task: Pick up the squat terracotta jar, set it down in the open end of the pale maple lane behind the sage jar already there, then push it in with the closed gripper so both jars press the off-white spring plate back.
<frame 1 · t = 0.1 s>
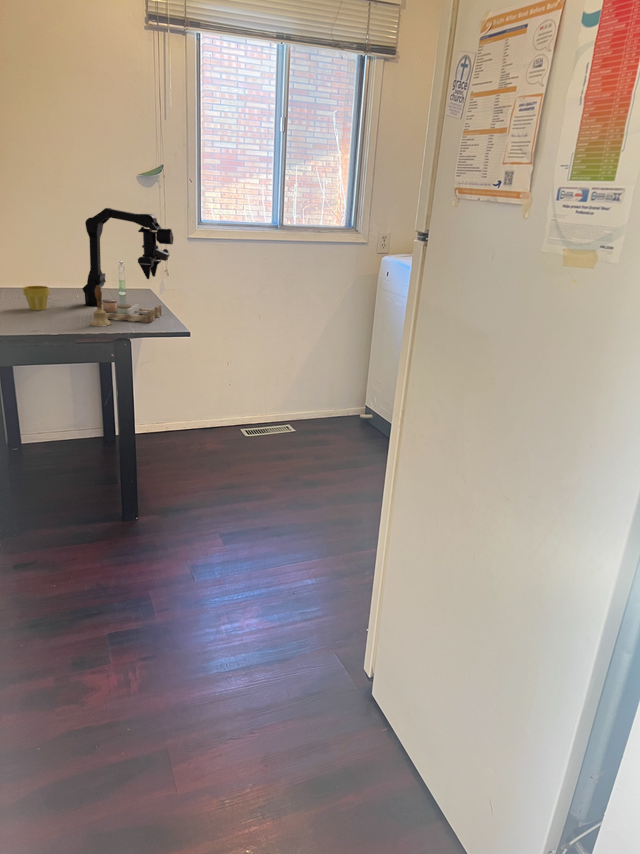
hand: (151, 277, 287), 15 cm above the table, tool pointing down, fingers open, 9 cm apart
jar: (110, 311, 282), on the table
lane: (132, 317, 273), on the table
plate: (140, 312, 272), point 3 cm above the table, slide at 0.0 cm
hand bell: (100, 324, 256), on the table
plant pot: (38, 309, 276), on the table
stock jar: (124, 316, 273), on the table
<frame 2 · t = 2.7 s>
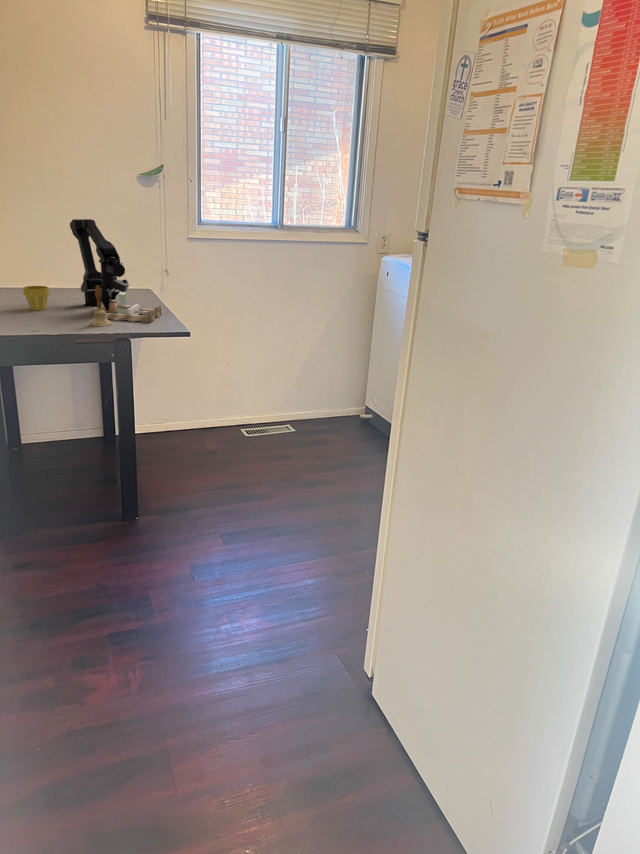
hand: (110, 308, 282), 1 cm above the table, tool pointing down, fingers closed on jar, 6 cm apart
jar: (110, 311, 282), on the table, touching gripper
everything else where it was.
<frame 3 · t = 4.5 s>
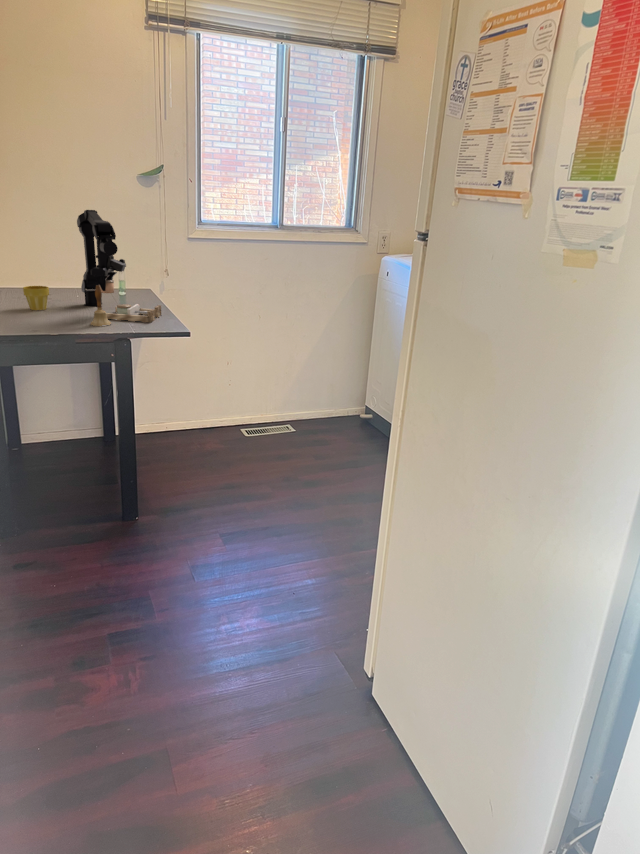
hand: (106, 289, 269), 11 cm above the table, tool pointing down, fingers closed on jar, 6 cm apart
jar: (106, 292, 269), point 10 cm above the table, touching gripper
everything else where it was.
when the fingers open (2 cm above the table, at t = 6.7 s): jar drops 1 cm, on the table.
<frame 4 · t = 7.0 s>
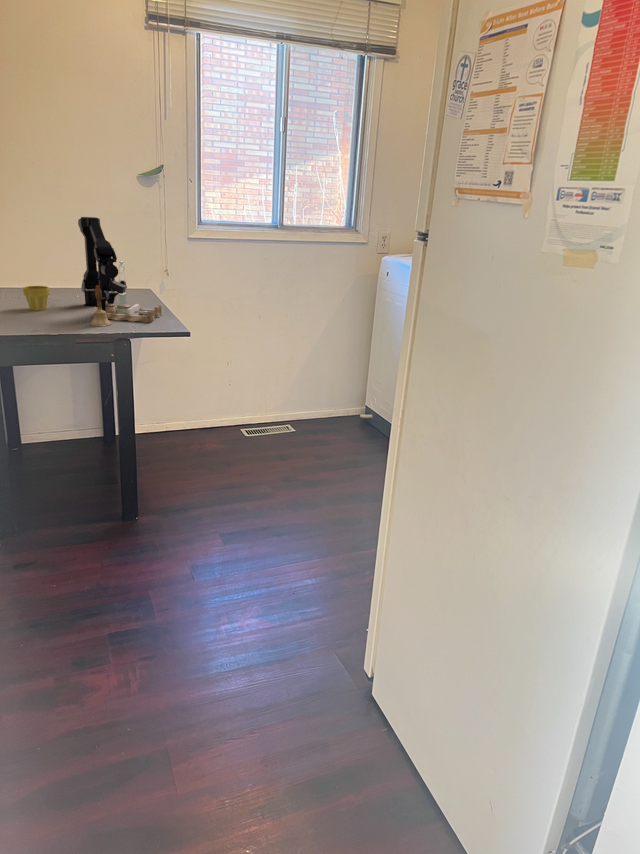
hand: (107, 310, 272), 2 cm above the table, tool pointing down, fingers open, 9 cm apart
jar: (108, 315, 273), on the table
everything else where it was.
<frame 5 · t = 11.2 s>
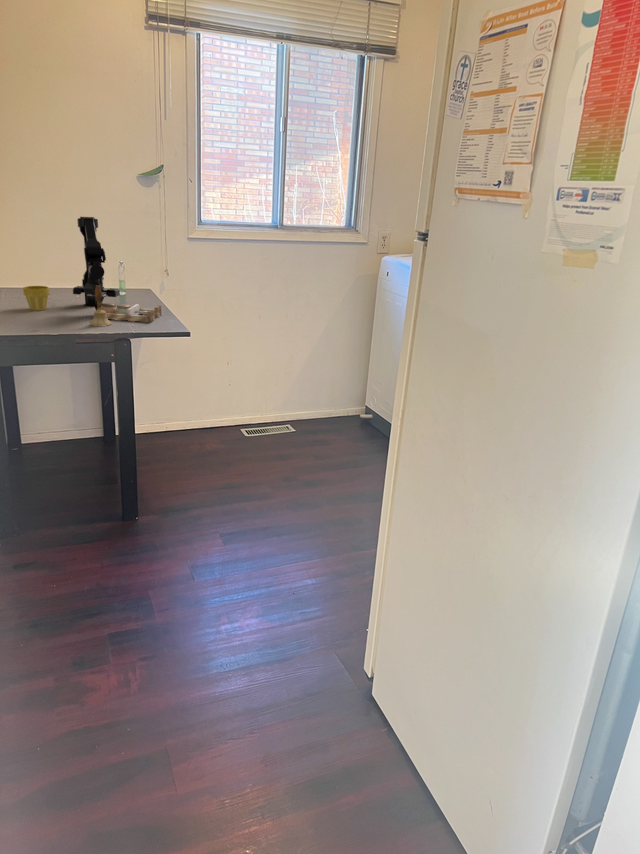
hand: (97, 311, 272), 2 cm above the table, tool pointing down, fingers closed
jar: (109, 315, 273), on the table, touching gripper
everything else where it was.
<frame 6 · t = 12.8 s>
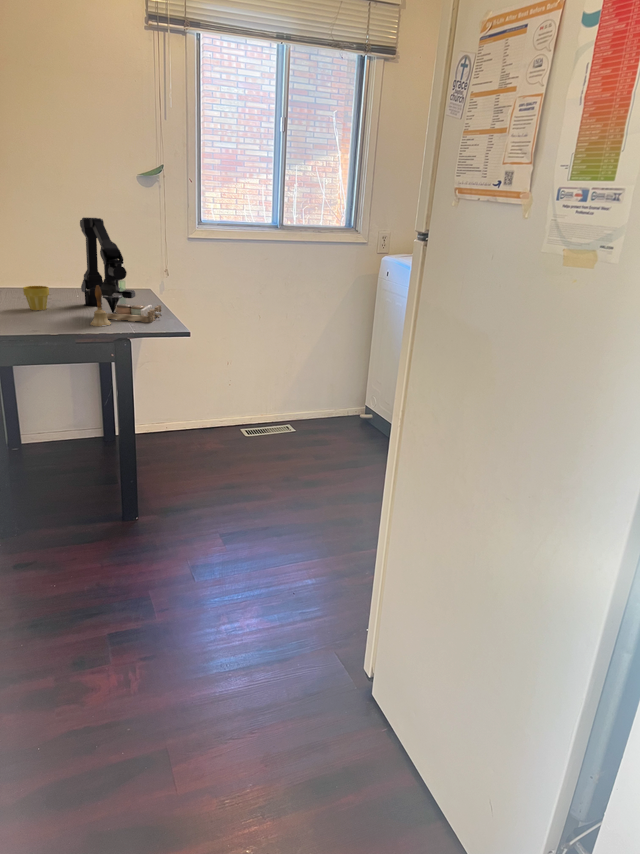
hand: (113, 312, 272), 2 cm above the table, tool pointing down, fingers closed
jar: (124, 316, 273), on the table, touching gripper, stock jar
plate: (153, 313, 272), point 3 cm above the table, slide at 5.7 cm, touching stock jar
stock jar: (138, 317, 273), on the table, touching jar, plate
everything else where it was.
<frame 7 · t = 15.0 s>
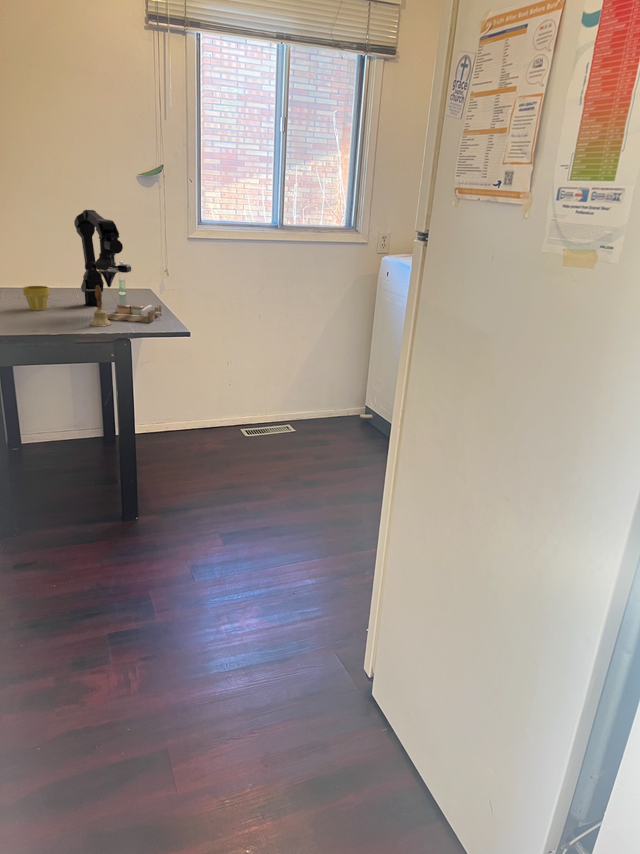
hand: (109, 287, 273), 12 cm above the table, tool pointing down, fingers closed
jar: (124, 316, 273), on the table, touching stock jar
everything else where it was.
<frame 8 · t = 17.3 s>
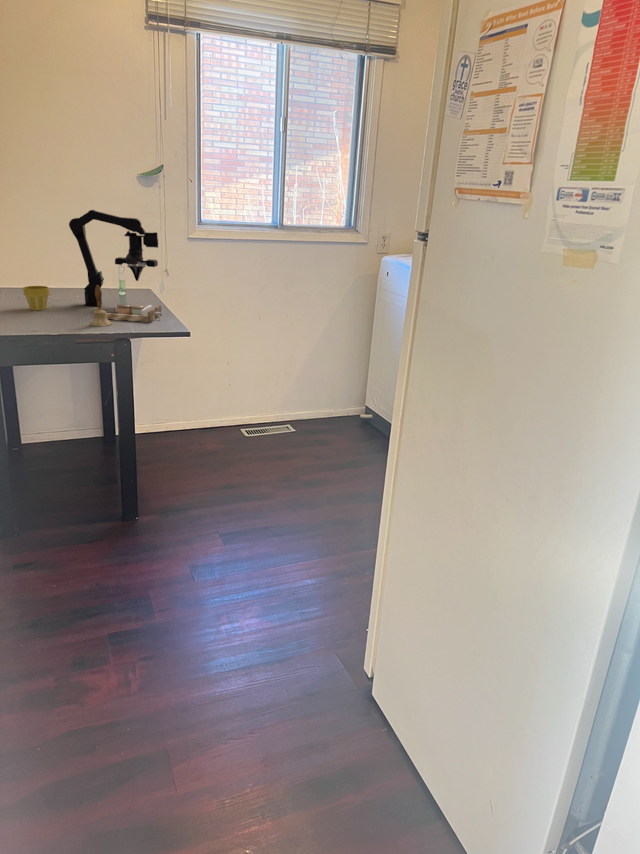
hand: (137, 280, 293), 12 cm above the table, tool pointing down, fingers closed
nothing on the table moved.
at the end: jar inside the target area (0.1 cm from its centre), on the table; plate slide at 5.9 cm; jar tilted 0° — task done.
